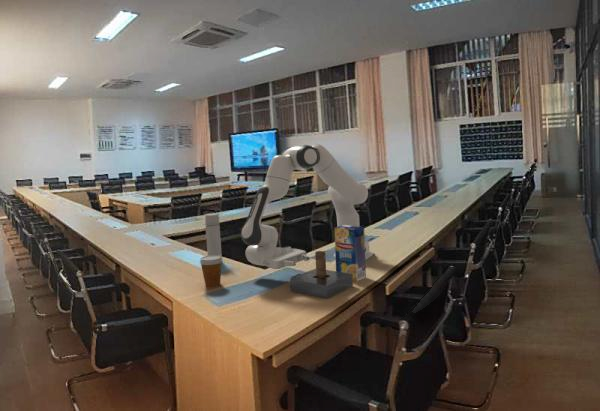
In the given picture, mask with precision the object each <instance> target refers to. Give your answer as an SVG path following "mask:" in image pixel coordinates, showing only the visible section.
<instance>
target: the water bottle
mask: <svg viewBox="0 0 600 411" xmlns="http://www.w3.org/2000/svg"><path fill="white" fill-rule="evenodd" d="M204 216H205V219H204V221H205V222H204V224H203V225H204V226H205V238H206V249H207V250H206V251H207V256H210V255H219V256H221V258H222V242H221V228H220V227H221V226H220V223H221V222H220V217H219V216H220V215H219V213H206V214H205V215H204ZM222 259H223V258H222Z"/></svg>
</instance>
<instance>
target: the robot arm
mask: <svg viewBox="0 0 600 411" xmlns="http://www.w3.org/2000/svg"><path fill="white" fill-rule="evenodd" d="M311 168H312V169H313V171H315V173H316V174H317V175H318V176H319V177H320V179H321V180H322V181H323V183H324V184H326V185H327V186H328V189H327V196H328V198H329V199H330V200H331V202H332V205H333V207H334V210H335V214H336V222H337V223H336V224H337V226H336V227H338V226H343V225H348V226H358V227H360V214H359V213H358V211H357V210H356V209H355V206H354V205H361V204H363V203H365V202H366V201H367V199H368V196H369V191H368V188H367V186H366V185H364V184H362V183H361V182H359V181H358V180H357V179H355V178H354V177H353V176H352V175H350V174H349V173H348V172H347V171H346V170H344V168H343V167H342V165H341V164H340V163H339V162H338V160H336V158H335V157H334V156H333V154H332V153H330V151H329V150H328V149H326V147H324V146H323V145H322V144H318V143H315V144H313V145H309V144H303V145H295V146H292V147H291V146H290V147H287V148H286V149H284V150H283V151H282V152H281V154H277V155H275V156H273V158H272V159H271V161H270V163H269V166H268V169H267V173H266V177H265V179H264V180H265V181H264V183H263V185H262V186H261V187H260V188H258V190H257V192H256V194H255V197H254V199H253V201H252V204H251V206H250V210H249V213H248V215H247V218H246V221H245V222H244V224H243V225H242V228H241V231H240V235H241V236H240V237H241V239H242V242H243V243H244V244H245V245H248V246H247V248H246V249H245V252H244V253H245V257H246V259H247V261H248V262H250V264H253V265H257V266H260V267H261V266H266V267H267V268H269V269H272V270H273V269H274V270H280V269H283V268H286V267H294V266H295V267H296V265H297V263H300V262H302V261H304V262H309V261H310V260H311V259H310V256H308V255H307V251H306V250H303V249H300V248H299V249H298V248H292V247H291V246H283V247H280V246H279V247H278V246H277V245H278V242H279V232H278V230H277V228H276V227H275V226H271V225H267V224H262V223H261V221H262V219H263V215H264V213H265V210H266V207H267V205H268V204H269V203H271V202H272V201H276V200H279V199H282V198H283V197H285V196H287V193H288V192H289V188H290V185H291V179H292V175H293V172H294V171H295V170H297V171H301V170H305V169H311ZM373 254H375V252H374V251H371V250H370V244H369V242H368V241H366V240H365V261H367V260H368V259H370V258H371V257H373V256H374V255H373ZM333 257H334V259H335V260H336V256H335V253H334V254H333Z"/></svg>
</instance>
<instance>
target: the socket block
mask: <svg viewBox="0 0 600 411" xmlns="http://www.w3.org/2000/svg"><path fill="white" fill-rule="evenodd" d="M353 282H354V281H353V277H352V274H350V273H343V272H337V271H336V270H335V271H334V270H330V269H329V270H328V269H326V278H325V279H319V278H316V268H314V269H311V270H308V271H306V272H304V273H301V274H299V275H296V276H294V277H292V278H289V288H290V292H293V293H297V294H302V295H308V296H313V297H317V298H322V299H327V300H328V299H330V298H332V297H334V296H336V295H338V294H340V293H342V292H344V291H345V290H348V289H349V288H352V287H353V286H354V283H353Z"/></svg>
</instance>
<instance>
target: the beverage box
mask: <svg viewBox="0 0 600 411" xmlns="http://www.w3.org/2000/svg"><path fill="white" fill-rule="evenodd" d="M365 237H366V234H365V227H364V226H359V227H358V226H348V225H343V226H338V227H337V226H336V227H334V250H335V251H334V254H335V256H336V259H335V271H337V272H343V273H350V274H352V277H353V282H358V281H361V280H363V279H366V275H367V274H366V273H367V272H366V270H367V269H366V260H365V241H366V238H365Z"/></svg>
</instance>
